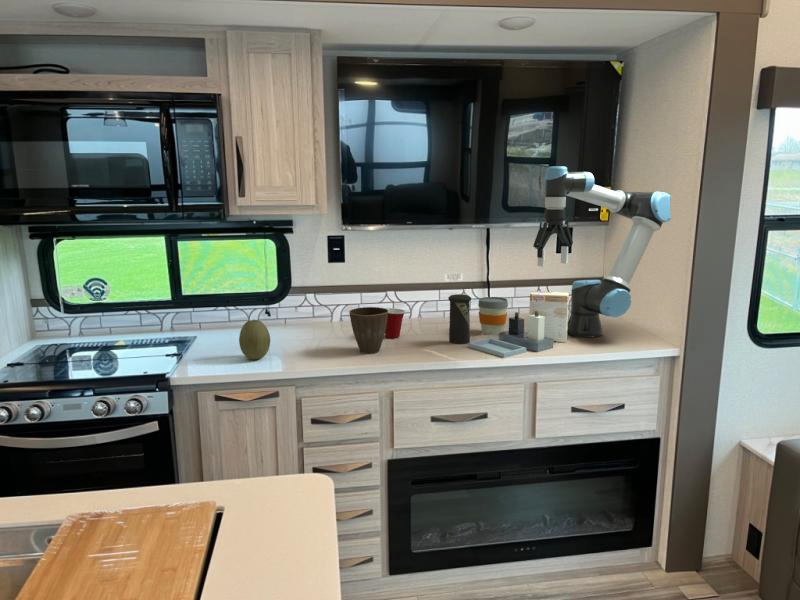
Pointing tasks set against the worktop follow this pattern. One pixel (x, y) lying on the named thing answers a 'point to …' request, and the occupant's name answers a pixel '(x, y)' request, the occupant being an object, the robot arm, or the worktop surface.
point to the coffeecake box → (552, 313)
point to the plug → (536, 326)
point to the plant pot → (369, 327)
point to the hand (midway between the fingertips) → (552, 264)
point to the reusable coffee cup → (492, 314)
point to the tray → (497, 347)
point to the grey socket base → (523, 336)
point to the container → (459, 319)
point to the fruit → (254, 339)
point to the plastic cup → (394, 322)
